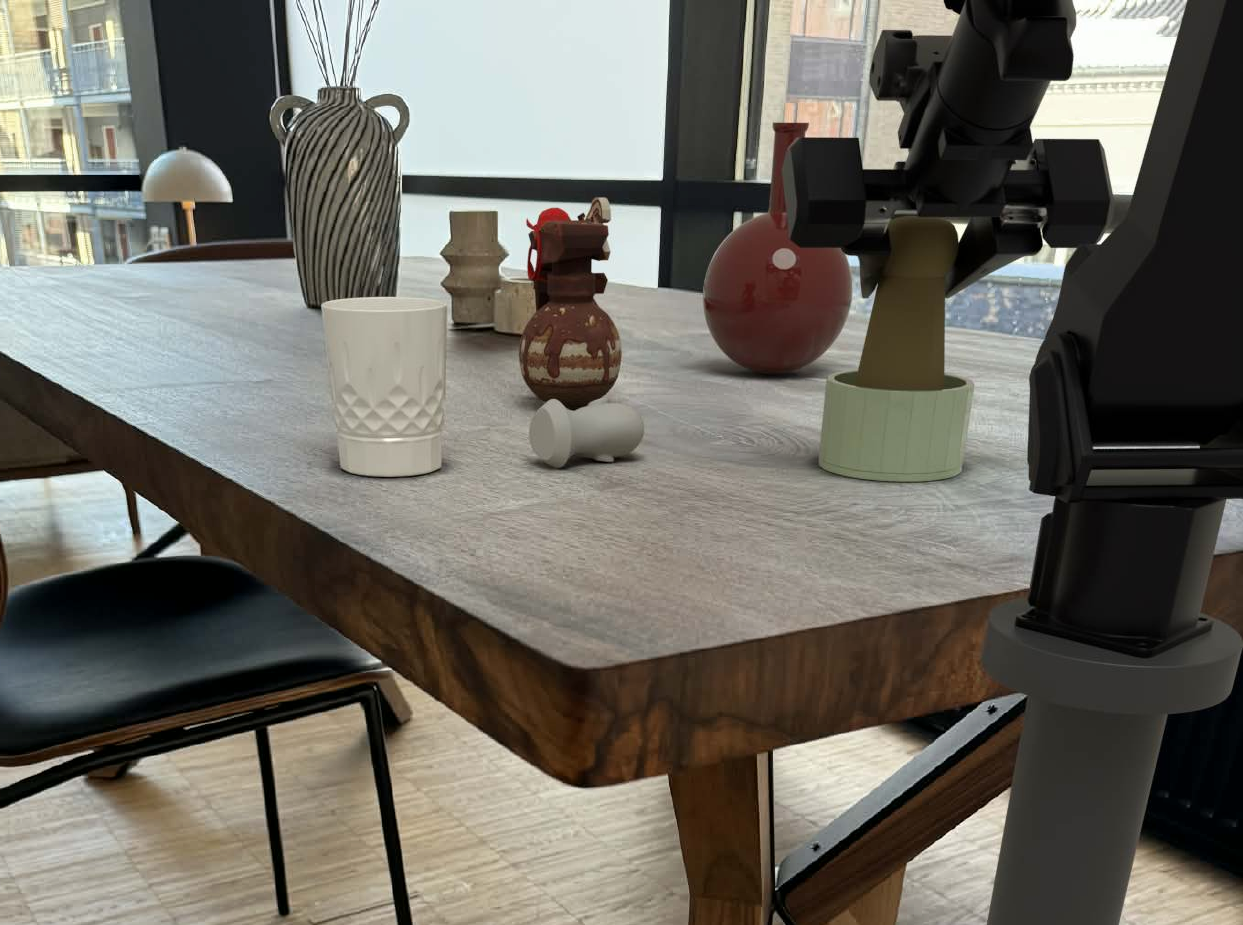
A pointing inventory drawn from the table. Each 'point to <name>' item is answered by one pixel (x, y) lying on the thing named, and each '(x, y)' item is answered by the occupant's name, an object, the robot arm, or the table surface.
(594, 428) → the pale two-lobed sculpture
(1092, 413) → the robot arm
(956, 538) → the table surface
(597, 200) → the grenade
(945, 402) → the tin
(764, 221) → the round-bottom flask
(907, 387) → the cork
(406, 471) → the white cup
